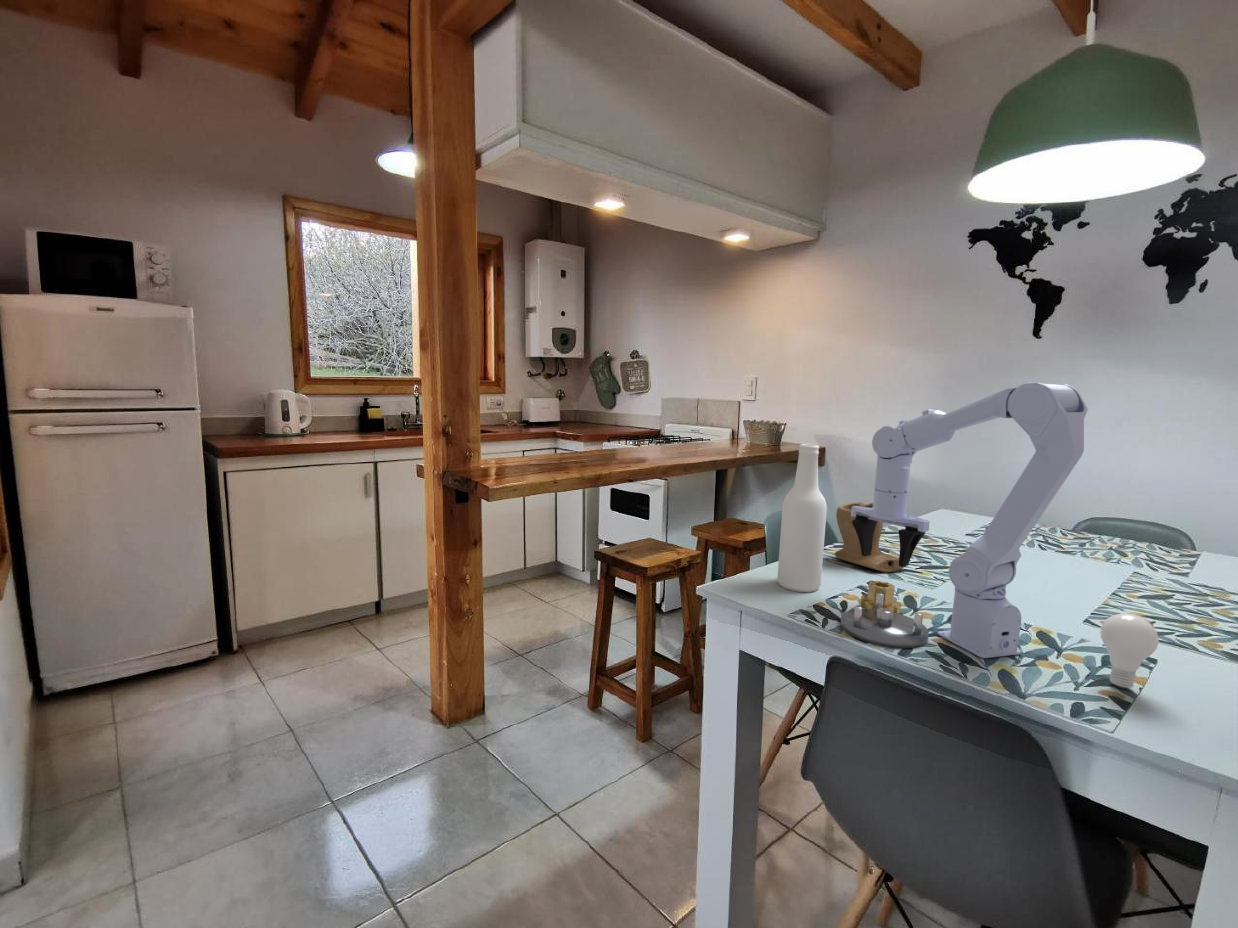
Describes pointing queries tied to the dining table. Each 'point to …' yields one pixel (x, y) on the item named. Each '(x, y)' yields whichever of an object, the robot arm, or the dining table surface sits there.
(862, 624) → the carrier
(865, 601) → the planet gear
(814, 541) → the alcohol
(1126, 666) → the lightbulb
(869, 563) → the stone cup
